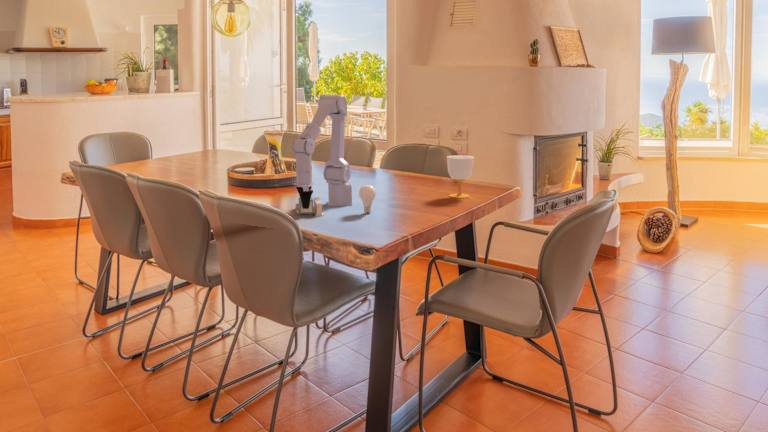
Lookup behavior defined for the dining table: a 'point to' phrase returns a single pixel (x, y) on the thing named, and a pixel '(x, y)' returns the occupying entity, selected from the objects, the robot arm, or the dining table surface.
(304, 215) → the pad
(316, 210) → the tan rectangular block
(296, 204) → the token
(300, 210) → the blue-grey cube
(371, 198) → the lightbulb
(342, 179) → the robot arm
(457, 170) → the cup
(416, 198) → the dining table surface
